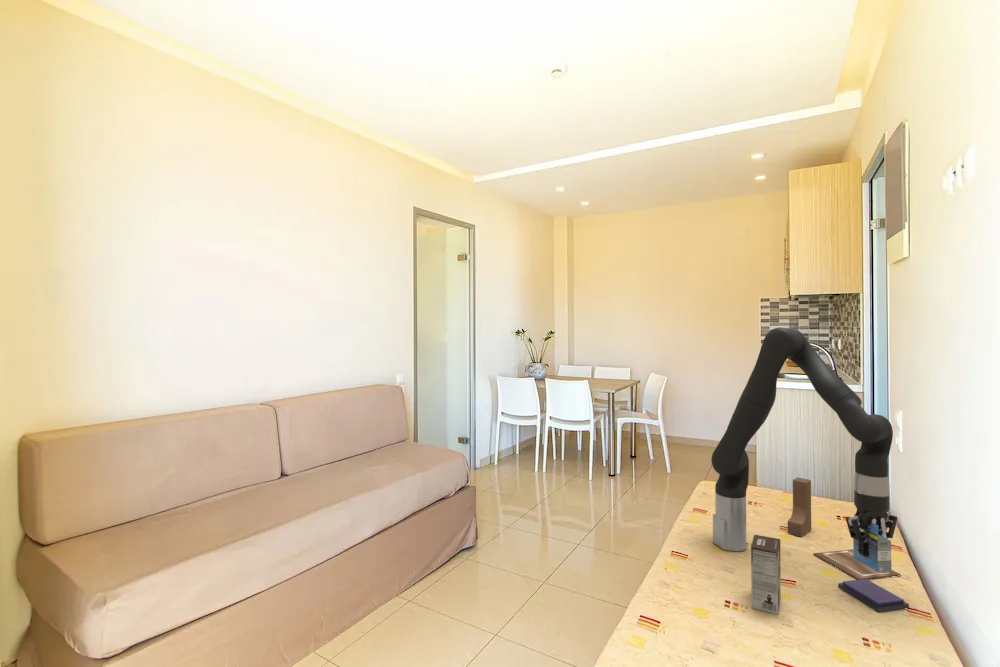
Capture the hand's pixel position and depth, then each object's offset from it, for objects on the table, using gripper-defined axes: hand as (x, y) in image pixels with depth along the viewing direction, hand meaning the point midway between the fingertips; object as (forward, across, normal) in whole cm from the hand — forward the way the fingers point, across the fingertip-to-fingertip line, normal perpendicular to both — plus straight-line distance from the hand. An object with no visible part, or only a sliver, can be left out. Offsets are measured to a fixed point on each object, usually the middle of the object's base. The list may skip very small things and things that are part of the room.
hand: (871, 554), depth 130 cm
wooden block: (+12, -13, -40) cm, 44 cm away
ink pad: (+12, 0, 0) cm, 12 cm away
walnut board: (+12, -11, -16) cm, 23 cm away
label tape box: (+3, 0, 0) cm, 3 cm away
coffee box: (+12, +29, -3) cm, 31 cm away
